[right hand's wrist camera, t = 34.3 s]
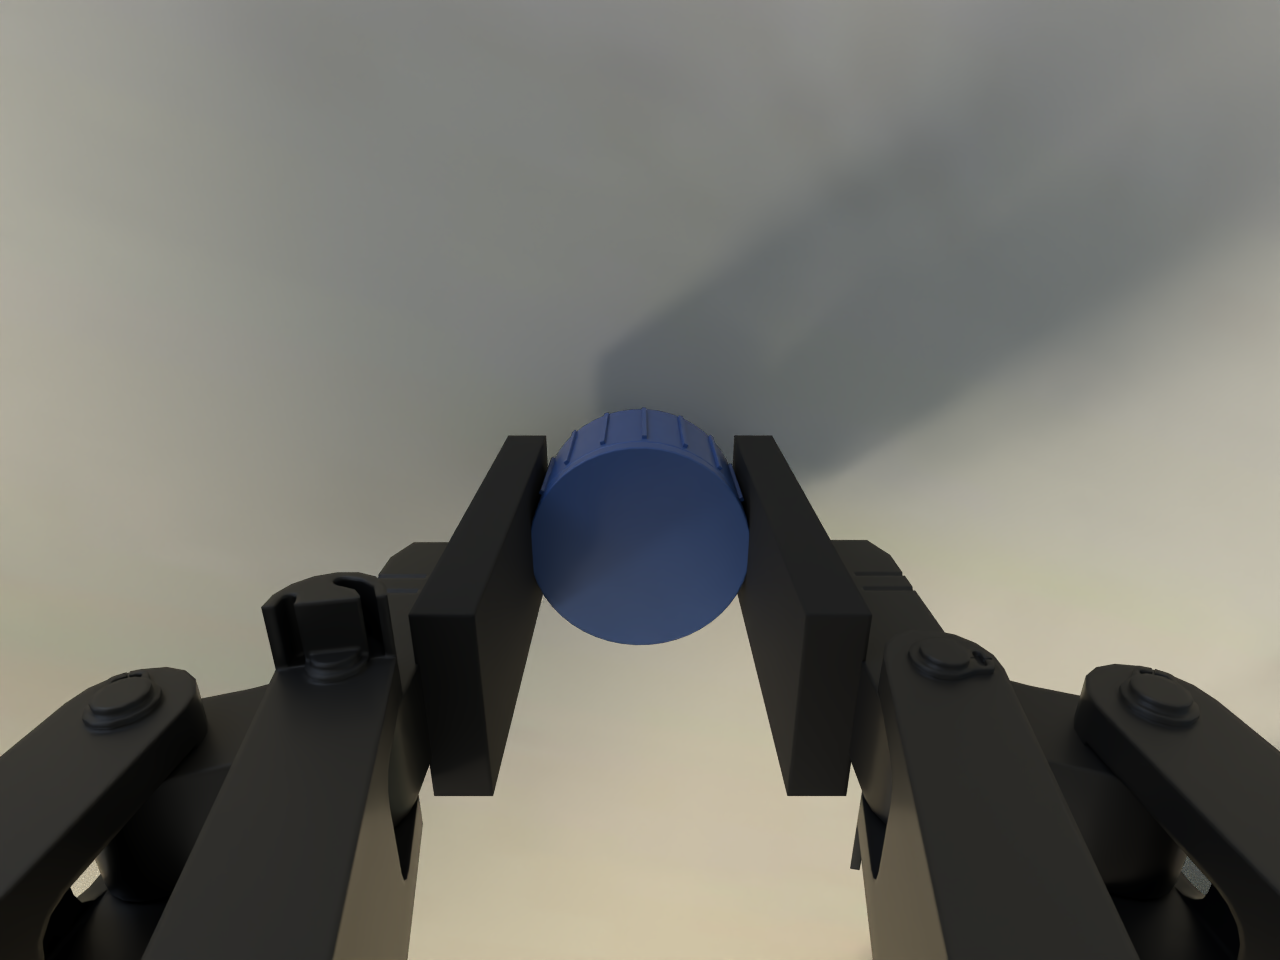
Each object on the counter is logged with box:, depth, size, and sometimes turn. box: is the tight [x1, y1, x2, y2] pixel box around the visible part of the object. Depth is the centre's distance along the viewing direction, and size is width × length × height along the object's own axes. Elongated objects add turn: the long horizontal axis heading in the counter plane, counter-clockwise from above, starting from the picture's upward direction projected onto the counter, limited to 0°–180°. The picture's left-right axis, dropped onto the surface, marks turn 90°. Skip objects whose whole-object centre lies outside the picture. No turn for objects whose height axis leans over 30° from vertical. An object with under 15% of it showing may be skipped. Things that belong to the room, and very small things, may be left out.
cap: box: [531, 408, 749, 645], centre depth 13 cm, size 4×4×2 cm
